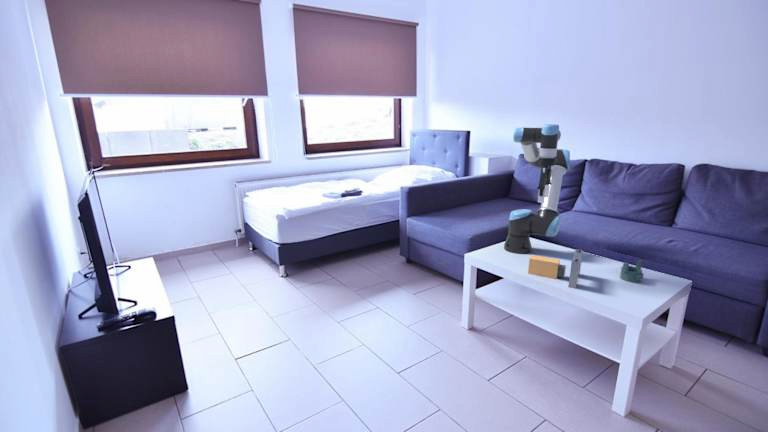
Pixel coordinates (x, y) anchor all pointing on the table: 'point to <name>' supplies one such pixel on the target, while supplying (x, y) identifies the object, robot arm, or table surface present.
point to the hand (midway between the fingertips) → (543, 199)
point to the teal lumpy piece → (632, 272)
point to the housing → (575, 268)
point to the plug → (546, 267)
